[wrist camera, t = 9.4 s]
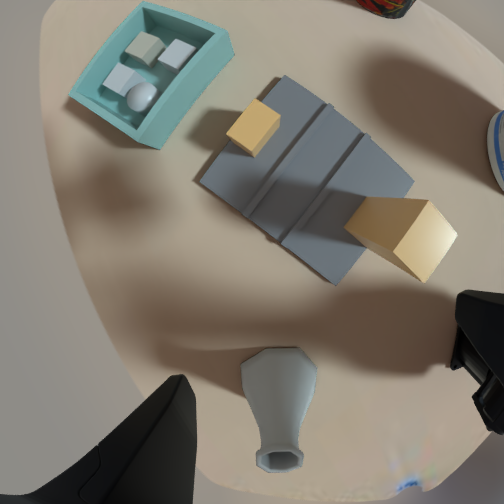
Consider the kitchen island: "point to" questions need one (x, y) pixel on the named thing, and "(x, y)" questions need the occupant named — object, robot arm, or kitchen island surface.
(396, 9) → the deodorant
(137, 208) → the kitchen island surface
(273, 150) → the gray board with blocks
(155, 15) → the tub
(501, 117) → the supplement tub
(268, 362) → the flask
